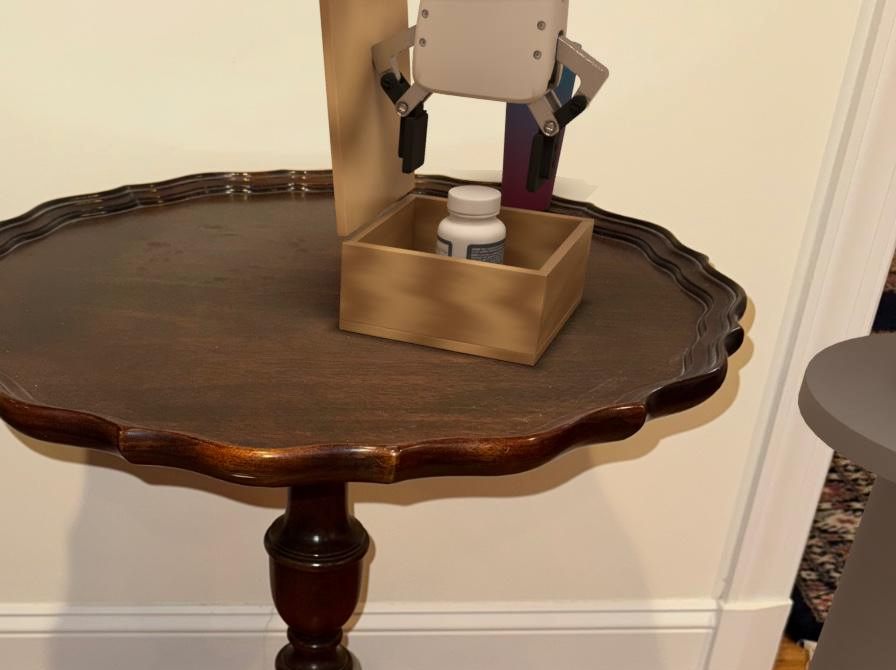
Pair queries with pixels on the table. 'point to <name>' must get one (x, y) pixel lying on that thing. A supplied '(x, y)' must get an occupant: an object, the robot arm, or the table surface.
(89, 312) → the table surface
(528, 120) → the cup
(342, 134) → the lid
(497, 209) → the pill bottle
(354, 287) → the chest
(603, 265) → the table surface
